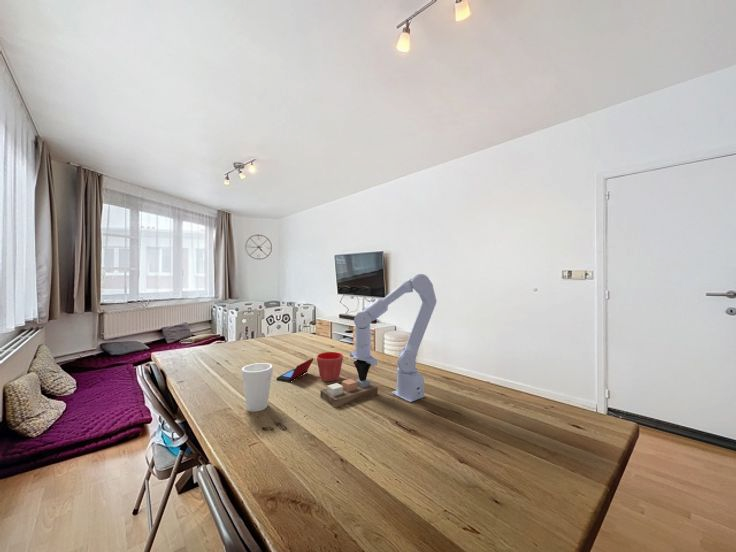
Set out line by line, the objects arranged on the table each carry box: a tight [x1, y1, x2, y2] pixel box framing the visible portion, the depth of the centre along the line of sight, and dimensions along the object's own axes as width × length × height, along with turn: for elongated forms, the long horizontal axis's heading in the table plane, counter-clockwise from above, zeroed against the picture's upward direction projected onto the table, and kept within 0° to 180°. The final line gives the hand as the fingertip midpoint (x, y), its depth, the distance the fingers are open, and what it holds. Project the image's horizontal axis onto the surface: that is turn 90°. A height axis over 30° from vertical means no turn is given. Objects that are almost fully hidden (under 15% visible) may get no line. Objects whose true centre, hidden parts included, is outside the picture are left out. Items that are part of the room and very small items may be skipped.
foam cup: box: [240, 362, 274, 413], centre depth 93 cm, size 10×9×13 cm
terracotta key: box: [341, 378, 357, 392], centre depth 102 cm, size 4×4×3 cm
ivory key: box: [326, 382, 343, 396], centre depth 99 cm, size 4×4×3 cm
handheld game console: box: [276, 357, 314, 383], centre depth 121 cm, size 12×11×7 cm
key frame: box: [320, 382, 379, 409], centre depth 102 cm, size 10×18×2 cm, turn 128°
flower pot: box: [316, 351, 344, 382], centre depth 119 cm, size 11×11×10 cm
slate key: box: [354, 378, 371, 388], centre depth 106 cm, size 4×4×3 cm
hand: (362, 380), depth 106 cm, fingers closed, pressing on slate key
